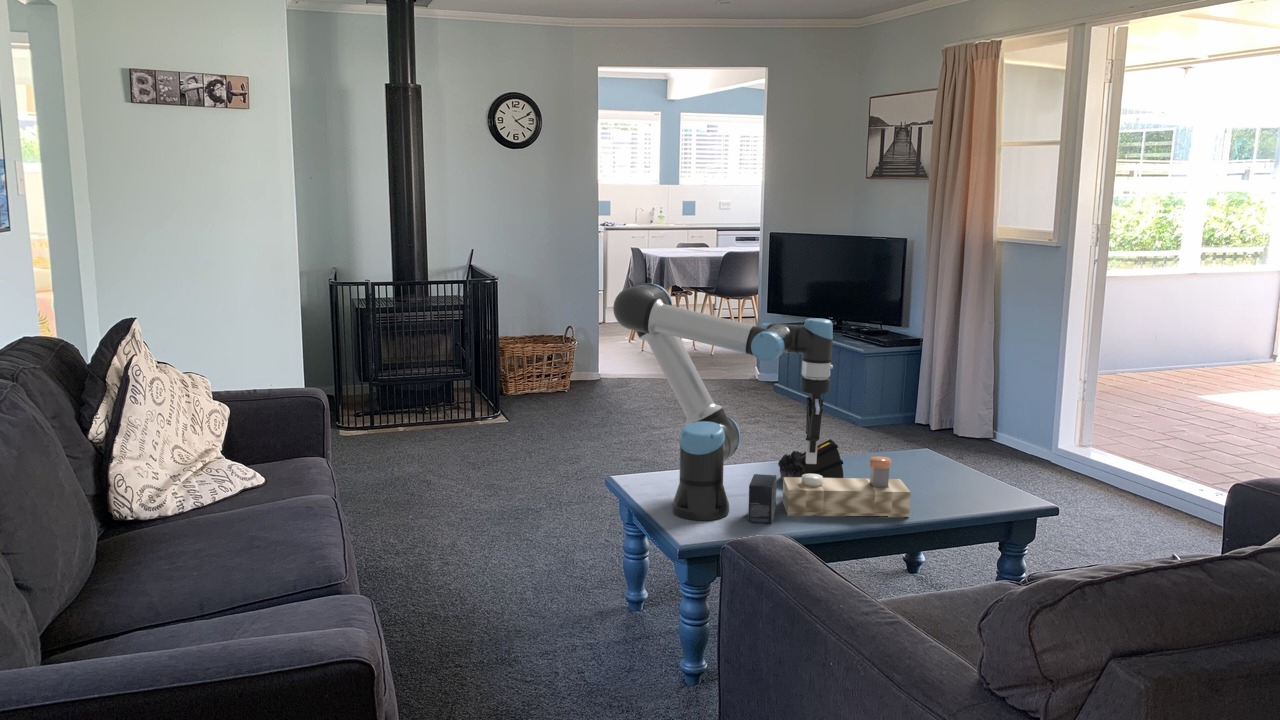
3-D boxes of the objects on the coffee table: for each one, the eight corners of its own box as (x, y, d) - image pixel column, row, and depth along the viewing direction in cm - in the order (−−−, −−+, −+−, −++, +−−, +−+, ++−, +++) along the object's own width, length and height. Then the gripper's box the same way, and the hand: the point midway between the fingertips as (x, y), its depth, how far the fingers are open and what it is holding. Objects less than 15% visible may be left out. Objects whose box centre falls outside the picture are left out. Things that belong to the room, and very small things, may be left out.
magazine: (855, 486, 278) (835, 441, 275) (814, 507, 277) (794, 462, 274) (850, 482, 282) (831, 438, 278) (810, 503, 281) (790, 458, 277)
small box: (752, 510, 261) (753, 472, 260) (776, 512, 260) (777, 474, 258) (746, 523, 251) (748, 484, 249) (772, 525, 250) (773, 486, 248)
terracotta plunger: (870, 488, 259) (872, 461, 257) (866, 482, 264) (867, 456, 263) (891, 489, 258) (893, 462, 257) (887, 483, 264) (888, 456, 263)
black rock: (823, 477, 295) (821, 445, 295) (825, 486, 282) (824, 452, 281) (779, 479, 297) (777, 446, 296) (779, 488, 284) (777, 454, 283)
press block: (787, 515, 257) (788, 490, 256) (782, 501, 269) (783, 477, 268) (909, 517, 256) (910, 492, 255) (898, 503, 268) (900, 479, 267)
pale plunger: (802, 506, 260) (803, 479, 259) (799, 499, 265) (800, 473, 264) (823, 506, 260) (824, 479, 259) (820, 500, 265) (821, 473, 264)
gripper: (834, 382, 250) (828, 470, 254) (826, 373, 263) (821, 457, 267) (805, 381, 251) (800, 469, 255) (798, 372, 263) (793, 456, 267)
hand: (810, 463), depth 261 cm, fingers closed
